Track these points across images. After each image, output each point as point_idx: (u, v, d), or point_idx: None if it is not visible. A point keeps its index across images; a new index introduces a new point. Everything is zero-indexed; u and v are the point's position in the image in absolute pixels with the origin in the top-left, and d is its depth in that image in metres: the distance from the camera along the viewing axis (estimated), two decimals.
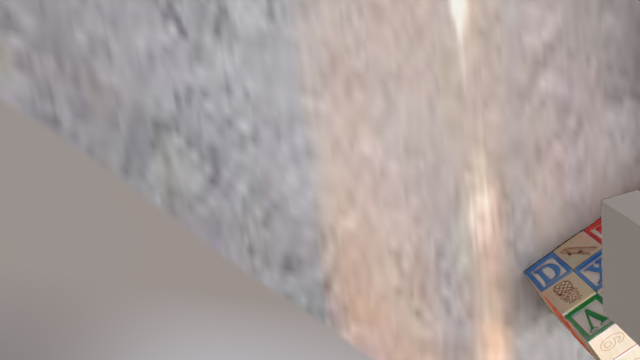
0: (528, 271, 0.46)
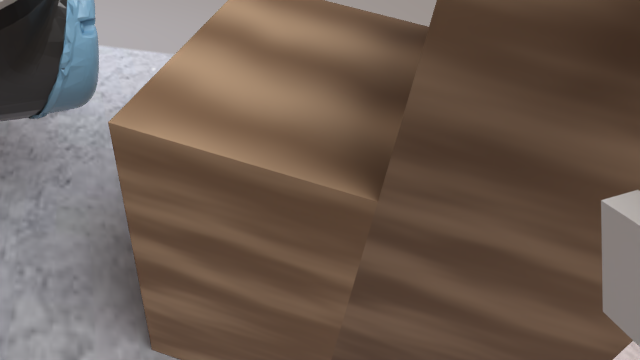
0: None
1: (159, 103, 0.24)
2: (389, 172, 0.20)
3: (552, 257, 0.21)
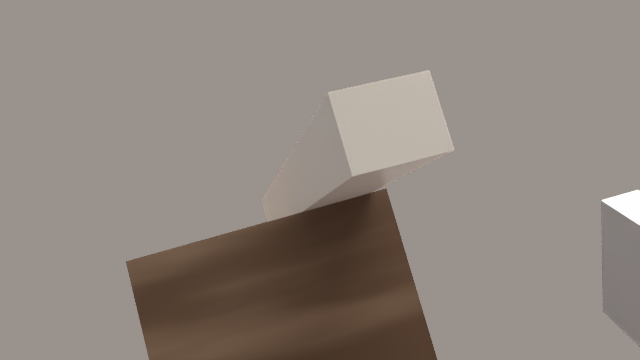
0: None
1: None
2: None
3: None
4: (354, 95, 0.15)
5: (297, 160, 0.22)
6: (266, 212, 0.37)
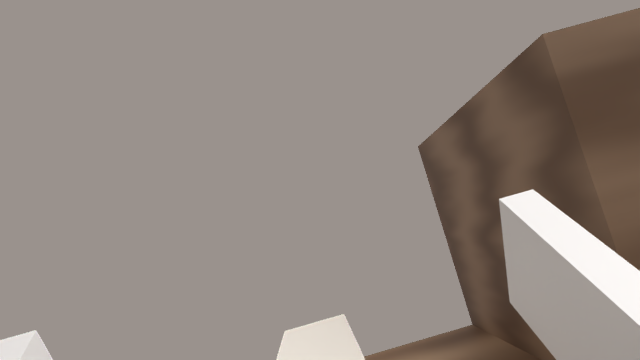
0: None
1: None
2: None
3: None
4: None
5: None
6: None
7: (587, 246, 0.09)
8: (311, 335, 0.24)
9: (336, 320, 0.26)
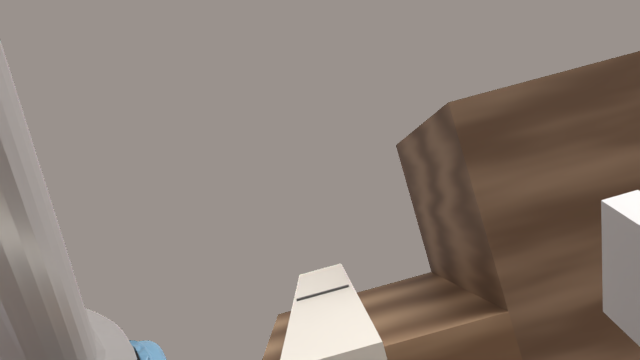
0: None
1: None
2: (500, 275, 0.24)
3: None
4: None
5: None
6: None
7: None
8: (318, 275, 0.36)
9: (335, 267, 0.38)
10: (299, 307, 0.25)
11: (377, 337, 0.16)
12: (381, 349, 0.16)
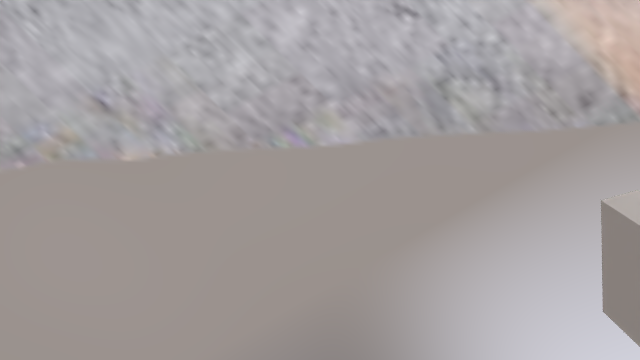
0: None
1: None
2: None
3: None
4: None
5: None
6: None
7: None
8: None
9: None
10: None
11: None
12: None
